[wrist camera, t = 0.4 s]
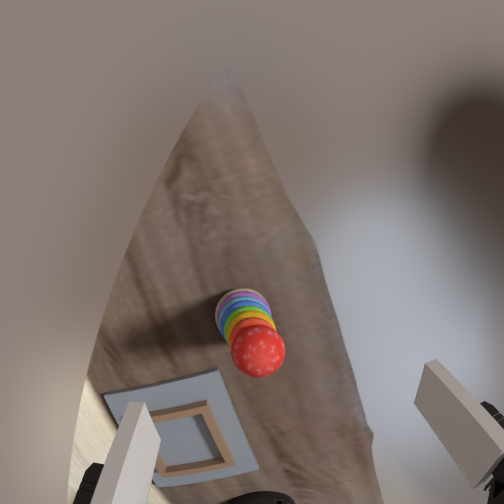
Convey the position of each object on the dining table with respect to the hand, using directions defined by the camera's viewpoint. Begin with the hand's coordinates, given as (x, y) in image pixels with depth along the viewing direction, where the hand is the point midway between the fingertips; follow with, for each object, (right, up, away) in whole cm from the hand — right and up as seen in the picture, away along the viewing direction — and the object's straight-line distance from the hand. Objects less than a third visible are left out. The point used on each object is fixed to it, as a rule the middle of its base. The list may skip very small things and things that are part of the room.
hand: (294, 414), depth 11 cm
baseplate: (-13, -24, +30) cm, 40 cm away
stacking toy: (-3, -2, +31) cm, 32 cm away
